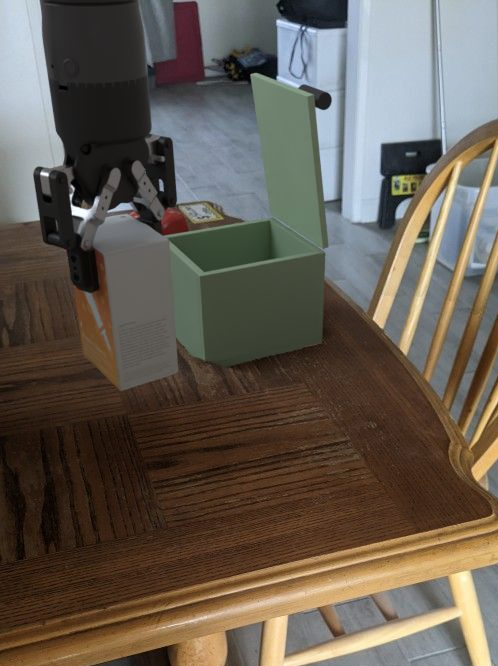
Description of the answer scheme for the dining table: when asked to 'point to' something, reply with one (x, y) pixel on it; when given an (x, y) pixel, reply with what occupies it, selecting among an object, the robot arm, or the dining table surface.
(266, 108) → the lid
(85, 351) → the small box
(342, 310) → the dining table surface
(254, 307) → the chest
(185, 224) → the butter dish
